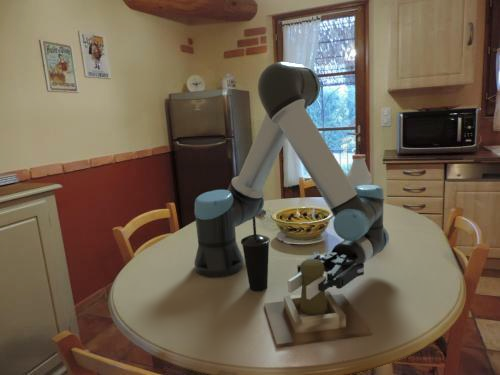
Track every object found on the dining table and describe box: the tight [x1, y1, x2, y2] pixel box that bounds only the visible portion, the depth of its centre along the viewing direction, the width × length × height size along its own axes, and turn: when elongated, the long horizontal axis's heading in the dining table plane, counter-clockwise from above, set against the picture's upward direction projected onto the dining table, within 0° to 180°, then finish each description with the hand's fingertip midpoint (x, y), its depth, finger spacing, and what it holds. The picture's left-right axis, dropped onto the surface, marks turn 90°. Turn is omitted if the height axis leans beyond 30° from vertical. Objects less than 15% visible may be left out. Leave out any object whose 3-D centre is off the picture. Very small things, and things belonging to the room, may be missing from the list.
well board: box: [263, 290, 372, 349], centre depth 82 cm, size 20×16×4 cm
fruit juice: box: [346, 153, 373, 189], centre depth 139 cm, size 9×9×28 cm
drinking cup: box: [240, 217, 270, 293], centre depth 96 cm, size 8×8×20 cm
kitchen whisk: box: [258, 208, 277, 227], centre depth 161 cm, size 6×34×6 cm, turn 19°
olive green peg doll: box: [300, 258, 327, 314], centre depth 80 cm, size 6×6×11 cm
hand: (298, 289), depth 76 cm, fingers closed on olive green peg doll, 4 cm apart
